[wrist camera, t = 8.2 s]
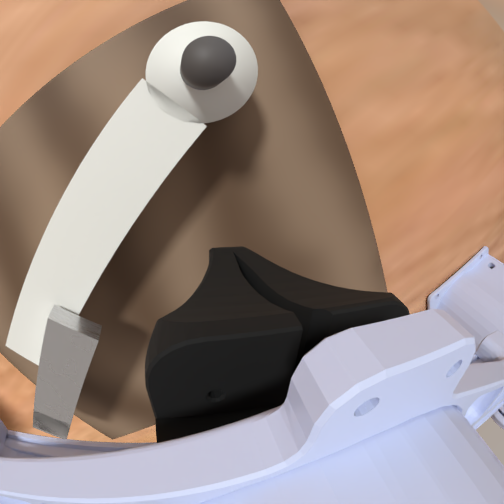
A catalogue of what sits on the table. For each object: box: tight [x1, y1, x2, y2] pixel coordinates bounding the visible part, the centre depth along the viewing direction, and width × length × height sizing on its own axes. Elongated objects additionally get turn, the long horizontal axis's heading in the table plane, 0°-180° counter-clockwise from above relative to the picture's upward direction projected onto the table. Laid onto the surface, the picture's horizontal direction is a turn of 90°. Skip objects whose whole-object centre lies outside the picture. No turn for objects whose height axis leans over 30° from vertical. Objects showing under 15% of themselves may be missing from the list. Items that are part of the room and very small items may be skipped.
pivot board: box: [0, 0, 387, 439], centre depth 13 cm, size 26×22×6 cm
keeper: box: [33, 305, 102, 439], centre depth 13 cm, size 10×2×4 cm, turn 147°
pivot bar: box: [6, 21, 258, 366], centre depth 11 cm, size 18×4×2 cm, turn 139°
